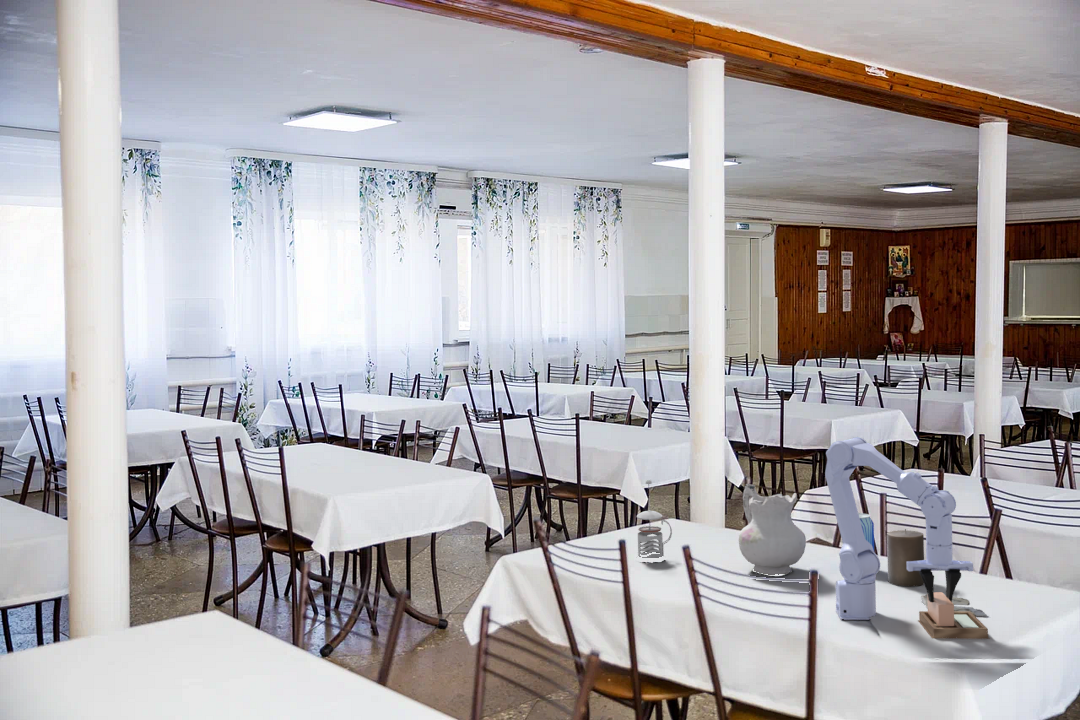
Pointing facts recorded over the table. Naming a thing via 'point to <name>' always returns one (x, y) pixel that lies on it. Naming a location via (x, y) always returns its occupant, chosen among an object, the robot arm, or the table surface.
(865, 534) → the beer can
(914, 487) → the robot arm
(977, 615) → the fossil rock
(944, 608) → the clay bar
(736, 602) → the table surface
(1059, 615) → the table surface
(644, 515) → the french press
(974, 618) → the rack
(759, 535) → the ceramic pitcher
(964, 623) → the glazed tile
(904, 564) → the pillar candle
